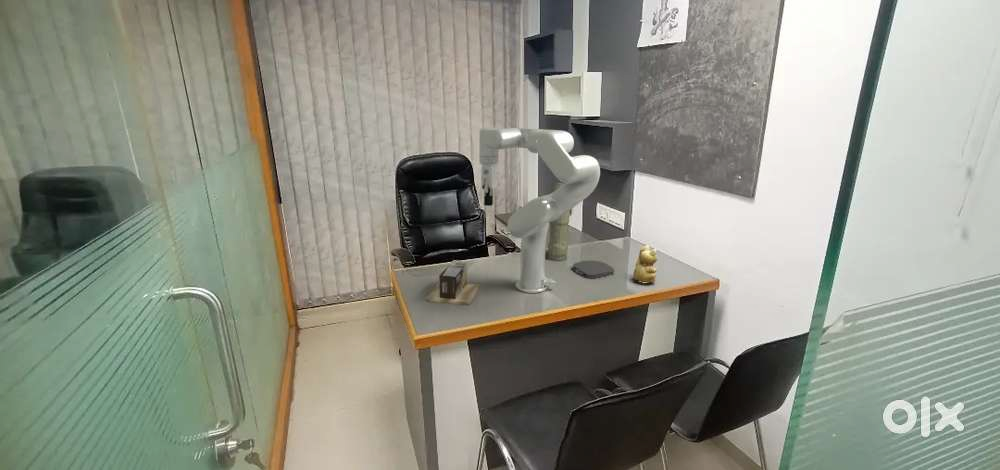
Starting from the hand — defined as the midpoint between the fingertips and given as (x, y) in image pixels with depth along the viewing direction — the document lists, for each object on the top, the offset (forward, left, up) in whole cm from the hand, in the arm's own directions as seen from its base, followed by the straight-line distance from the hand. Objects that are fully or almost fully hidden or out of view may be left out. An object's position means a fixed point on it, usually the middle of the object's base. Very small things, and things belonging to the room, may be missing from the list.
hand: (488, 205), depth 187 cm
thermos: (-28, -24, -29) cm, 47 cm away
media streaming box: (-44, -10, -30) cm, 54 cm away
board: (+8, +25, -29) cm, 39 cm away
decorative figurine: (-64, -3, -29) cm, 71 cm away
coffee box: (+8, +15, -24) cm, 29 cm away
